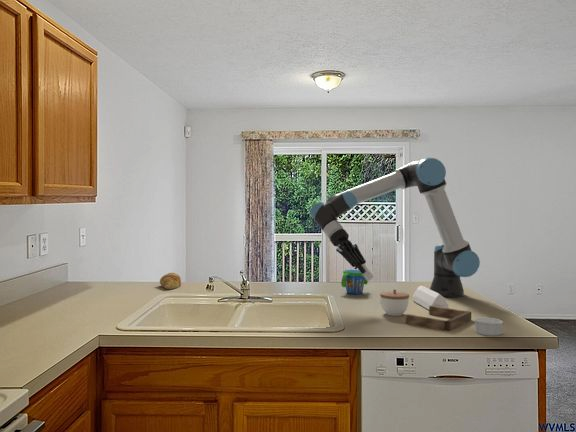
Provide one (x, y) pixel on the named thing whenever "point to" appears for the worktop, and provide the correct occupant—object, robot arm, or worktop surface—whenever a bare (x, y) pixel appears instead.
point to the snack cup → (353, 281)
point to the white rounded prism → (429, 298)
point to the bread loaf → (170, 281)
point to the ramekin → (488, 326)
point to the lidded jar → (394, 302)
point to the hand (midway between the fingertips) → (370, 278)
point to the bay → (456, 319)
